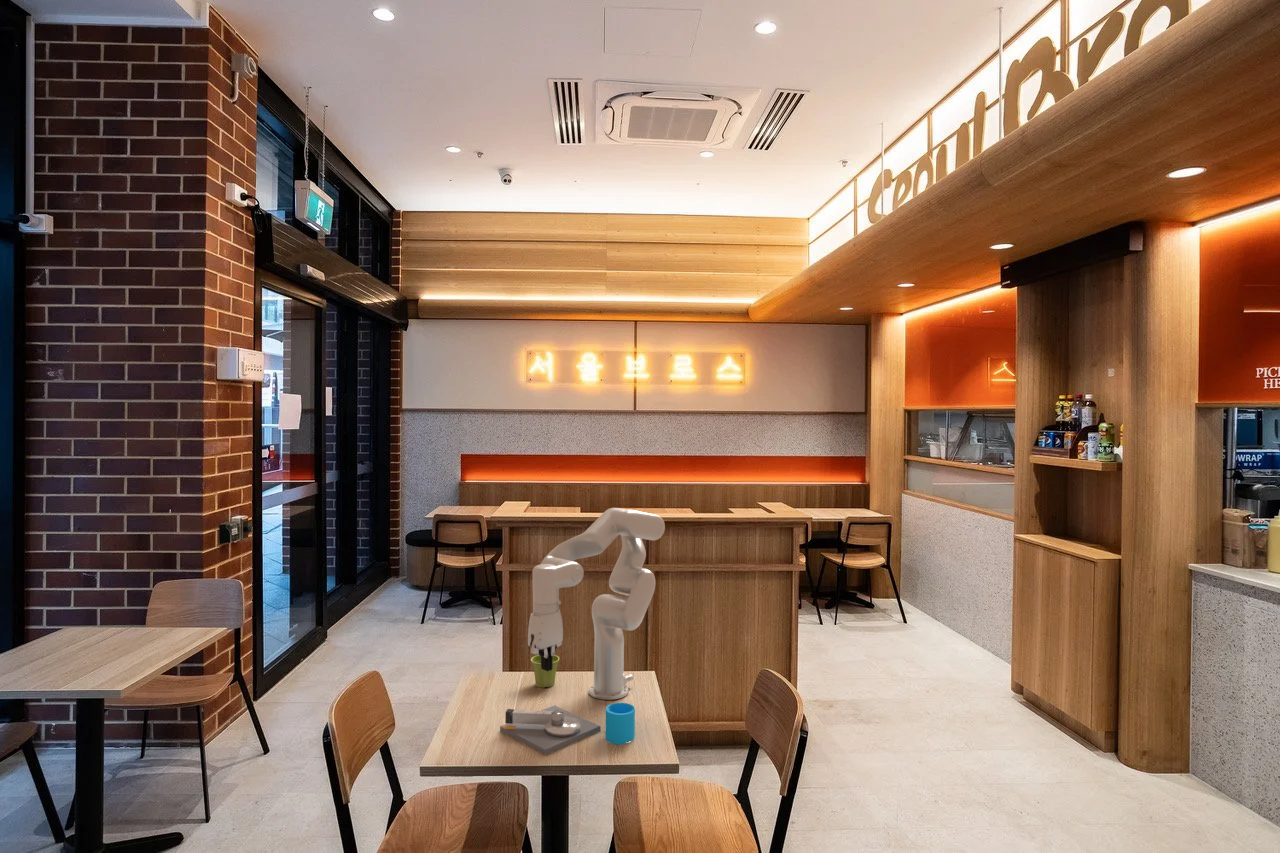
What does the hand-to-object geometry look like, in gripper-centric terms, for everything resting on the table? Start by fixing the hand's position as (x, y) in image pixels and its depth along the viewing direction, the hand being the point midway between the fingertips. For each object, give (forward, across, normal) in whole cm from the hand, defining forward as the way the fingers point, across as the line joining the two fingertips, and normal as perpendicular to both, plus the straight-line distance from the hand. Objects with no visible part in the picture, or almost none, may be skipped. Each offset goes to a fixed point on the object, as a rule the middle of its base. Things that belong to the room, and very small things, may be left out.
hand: (546, 669), depth 206 cm
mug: (+16, -8, +22) cm, 28 cm away
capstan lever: (+13, +7, +6) cm, 16 cm away
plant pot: (+16, -17, -22) cm, 32 cm away
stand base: (+15, +4, +6) cm, 17 cm away
